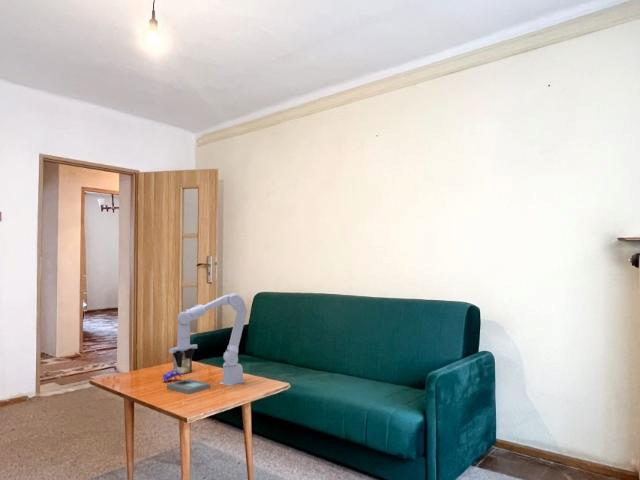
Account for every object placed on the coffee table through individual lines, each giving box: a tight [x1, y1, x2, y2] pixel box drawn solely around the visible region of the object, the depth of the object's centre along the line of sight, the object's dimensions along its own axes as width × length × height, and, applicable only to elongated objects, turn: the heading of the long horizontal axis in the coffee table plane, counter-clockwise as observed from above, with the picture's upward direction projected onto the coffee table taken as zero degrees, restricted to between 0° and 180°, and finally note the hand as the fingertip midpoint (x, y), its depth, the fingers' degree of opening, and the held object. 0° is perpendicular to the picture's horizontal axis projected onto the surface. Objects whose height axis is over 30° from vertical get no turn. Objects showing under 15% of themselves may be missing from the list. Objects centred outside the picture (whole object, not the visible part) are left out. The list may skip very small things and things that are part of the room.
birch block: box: [177, 358, 190, 373], centre depth 203 cm, size 4×4×6 cm
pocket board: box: [166, 378, 211, 395], centre depth 200 cm, size 12×16×3 cm
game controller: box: [162, 368, 184, 384], centre depth 213 cm, size 10×8×10 cm
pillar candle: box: [173, 351, 193, 376], centre depth 233 cm, size 10×10×15 cm
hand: (183, 366), depth 203 cm, fingers closed on birch block, 4 cm apart
